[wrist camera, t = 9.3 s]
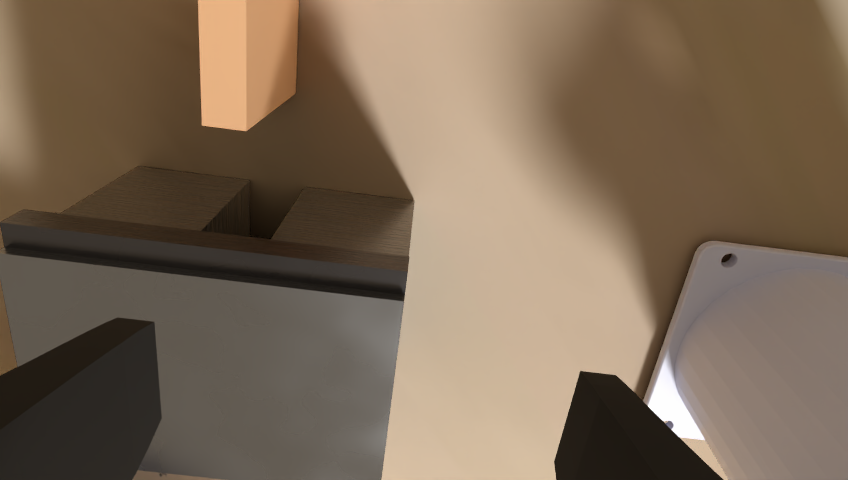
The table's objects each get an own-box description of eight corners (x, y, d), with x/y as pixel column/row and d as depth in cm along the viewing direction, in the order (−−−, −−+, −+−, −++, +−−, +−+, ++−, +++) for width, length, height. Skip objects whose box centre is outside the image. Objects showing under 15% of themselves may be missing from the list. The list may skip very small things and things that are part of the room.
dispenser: (416, 183, 19) (406, 277, 13) (395, 351, 21) (379, 496, 15) (136, 148, 18) (-11, 227, 12) (150, 323, 21) (35, 459, 15)
